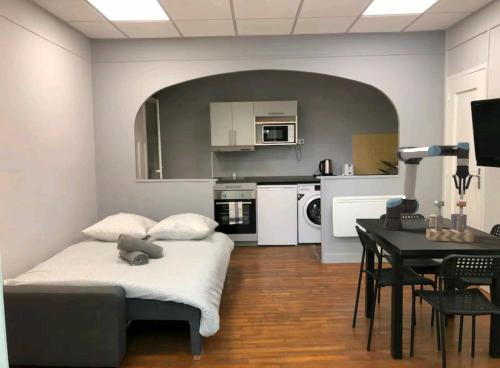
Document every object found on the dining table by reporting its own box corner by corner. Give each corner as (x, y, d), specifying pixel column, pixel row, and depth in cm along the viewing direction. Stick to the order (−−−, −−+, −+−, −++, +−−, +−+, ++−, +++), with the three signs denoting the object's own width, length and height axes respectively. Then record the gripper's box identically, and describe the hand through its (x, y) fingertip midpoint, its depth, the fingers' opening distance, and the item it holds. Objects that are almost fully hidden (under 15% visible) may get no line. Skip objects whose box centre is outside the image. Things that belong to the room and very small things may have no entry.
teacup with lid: (439, 226, 352) (440, 212, 351) (442, 228, 343) (443, 213, 342) (424, 225, 354) (424, 211, 353) (426, 227, 345) (427, 213, 344)
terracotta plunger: (457, 222, 295) (457, 202, 294) (454, 221, 301) (455, 201, 300) (466, 223, 294) (467, 202, 292) (464, 221, 299) (465, 201, 298)
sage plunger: (435, 222, 298) (435, 201, 297) (433, 220, 304) (434, 200, 303) (444, 222, 296) (445, 201, 295) (442, 221, 302) (443, 200, 301)
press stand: (429, 240, 297) (430, 217, 295) (426, 237, 308) (426, 214, 307) (473, 242, 291) (474, 218, 290) (468, 238, 302) (469, 215, 301)
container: (467, 236, 308) (468, 216, 307) (451, 236, 312) (452, 215, 310) (464, 234, 318) (465, 214, 317) (449, 233, 321) (450, 213, 320)
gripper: (453, 165, 292) (452, 199, 294) (474, 165, 289) (473, 200, 291) (451, 164, 299) (450, 198, 301) (471, 164, 296) (470, 199, 298)
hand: (461, 199), depth 296 cm, fingers closed
